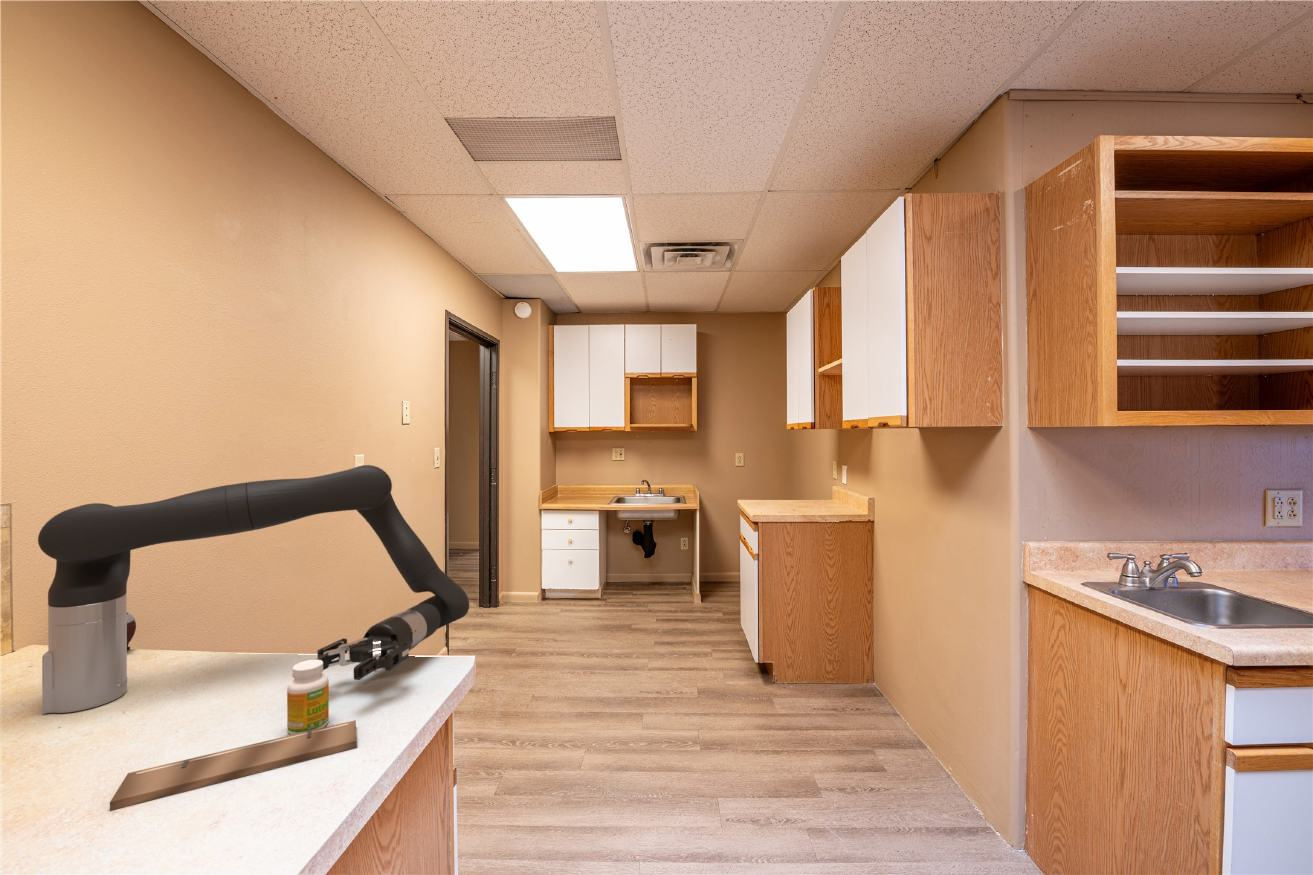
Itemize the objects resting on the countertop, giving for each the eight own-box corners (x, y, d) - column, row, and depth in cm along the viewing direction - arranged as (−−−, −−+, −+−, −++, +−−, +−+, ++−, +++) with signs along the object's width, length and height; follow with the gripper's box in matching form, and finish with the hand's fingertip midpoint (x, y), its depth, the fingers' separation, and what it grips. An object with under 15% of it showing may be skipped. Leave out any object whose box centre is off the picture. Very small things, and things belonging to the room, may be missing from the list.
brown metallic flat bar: (109, 810, 65) (109, 801, 65) (128, 780, 71) (128, 772, 71) (356, 747, 78) (356, 739, 78) (355, 726, 84) (355, 719, 84)
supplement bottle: (308, 738, 80) (308, 673, 80) (278, 734, 82) (278, 670, 82) (336, 720, 86) (336, 658, 86) (308, 716, 87) (308, 656, 87)
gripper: (363, 614, 105) (293, 646, 89) (430, 618, 103) (371, 652, 87) (363, 652, 105) (294, 691, 89) (430, 657, 103) (371, 698, 87)
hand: (332, 672), depth 88 cm, fingers open, 8 cm apart
